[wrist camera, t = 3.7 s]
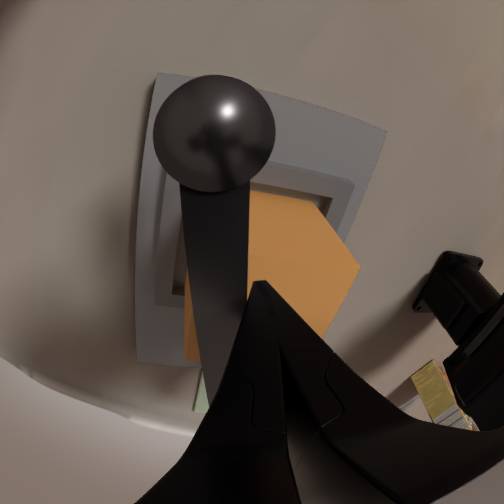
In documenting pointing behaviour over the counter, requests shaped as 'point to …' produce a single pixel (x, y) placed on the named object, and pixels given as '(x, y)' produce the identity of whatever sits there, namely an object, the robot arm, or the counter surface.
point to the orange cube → (290, 262)
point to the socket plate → (267, 180)
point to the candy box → (440, 397)
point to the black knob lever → (215, 199)
